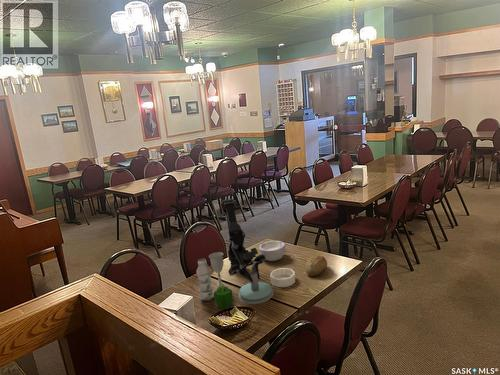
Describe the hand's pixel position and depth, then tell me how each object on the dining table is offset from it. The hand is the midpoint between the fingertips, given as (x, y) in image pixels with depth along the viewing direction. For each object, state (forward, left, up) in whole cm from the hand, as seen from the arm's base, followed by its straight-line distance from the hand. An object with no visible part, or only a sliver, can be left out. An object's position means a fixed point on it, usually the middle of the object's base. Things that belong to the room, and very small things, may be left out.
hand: (255, 280), depth 165 cm
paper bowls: (+3, +42, -8) cm, 43 cm away
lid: (-1, +1, -6) cm, 6 cm away
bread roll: (+28, +23, -8) cm, 37 cm away
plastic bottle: (-24, -2, -8) cm, 25 cm away
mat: (-1, +1, -8) cm, 8 cm away
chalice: (-20, +8, -8) cm, 23 cm away
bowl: (+11, +13, -8) cm, 19 cm away
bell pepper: (-14, -8, -8) cm, 18 cm away
